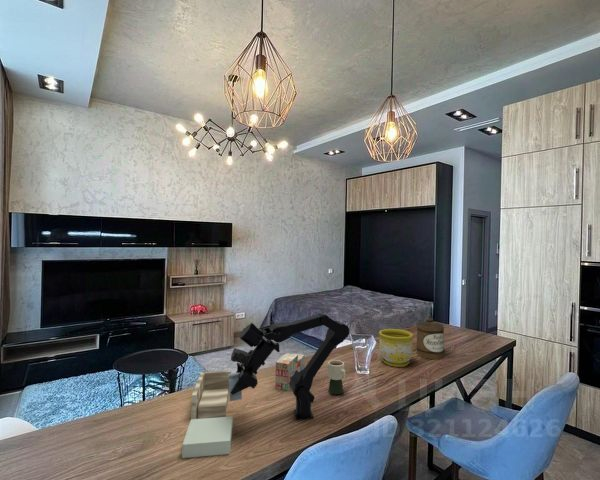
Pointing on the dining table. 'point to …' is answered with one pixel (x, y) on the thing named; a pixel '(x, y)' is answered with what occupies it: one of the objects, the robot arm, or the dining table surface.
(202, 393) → the beige stepped piece
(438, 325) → the wooden container
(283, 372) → the stack of blocks
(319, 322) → the robot arm
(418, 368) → the dining table surface
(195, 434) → the pad
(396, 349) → the flowerpot
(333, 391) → the character mug
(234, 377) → the slate block
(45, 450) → the dining table surface
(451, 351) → the dining table surface
